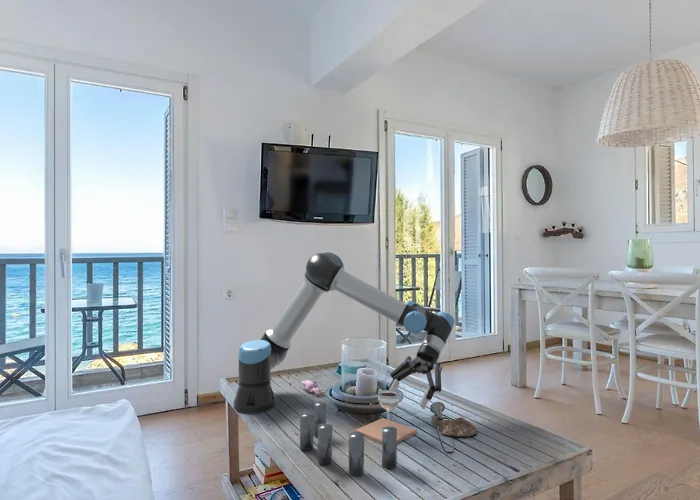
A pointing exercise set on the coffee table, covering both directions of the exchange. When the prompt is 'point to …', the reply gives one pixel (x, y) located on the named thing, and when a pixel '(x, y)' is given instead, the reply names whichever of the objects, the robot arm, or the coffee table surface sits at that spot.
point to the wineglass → (388, 401)
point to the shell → (458, 428)
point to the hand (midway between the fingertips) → (404, 402)
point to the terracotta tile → (375, 427)
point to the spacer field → (318, 428)
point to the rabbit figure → (313, 387)
